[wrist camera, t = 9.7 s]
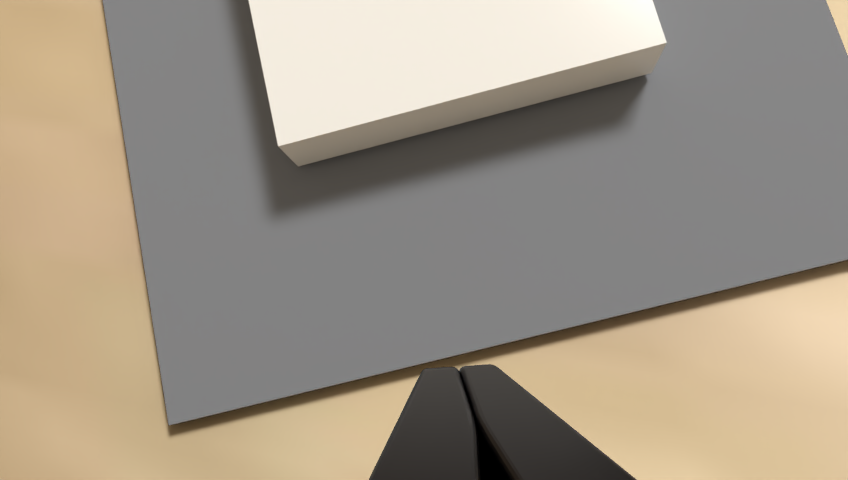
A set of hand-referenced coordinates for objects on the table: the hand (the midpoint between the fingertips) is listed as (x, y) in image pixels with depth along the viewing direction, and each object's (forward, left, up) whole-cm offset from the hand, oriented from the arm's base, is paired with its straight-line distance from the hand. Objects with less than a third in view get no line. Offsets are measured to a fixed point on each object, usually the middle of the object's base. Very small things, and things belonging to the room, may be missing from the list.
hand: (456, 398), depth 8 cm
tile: (+5, -5, -9) cm, 12 cm away
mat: (+8, -7, -11) cm, 15 cm away
